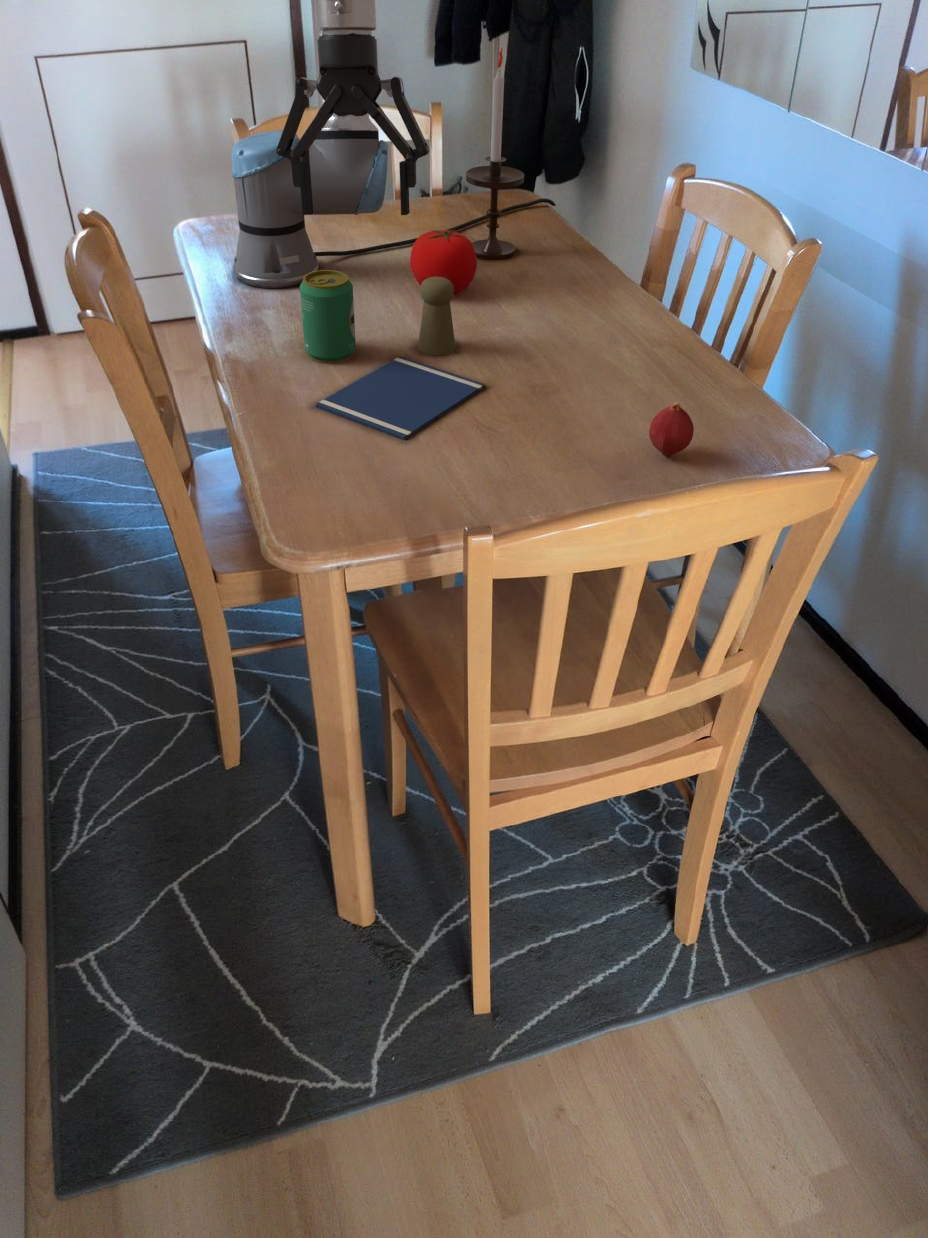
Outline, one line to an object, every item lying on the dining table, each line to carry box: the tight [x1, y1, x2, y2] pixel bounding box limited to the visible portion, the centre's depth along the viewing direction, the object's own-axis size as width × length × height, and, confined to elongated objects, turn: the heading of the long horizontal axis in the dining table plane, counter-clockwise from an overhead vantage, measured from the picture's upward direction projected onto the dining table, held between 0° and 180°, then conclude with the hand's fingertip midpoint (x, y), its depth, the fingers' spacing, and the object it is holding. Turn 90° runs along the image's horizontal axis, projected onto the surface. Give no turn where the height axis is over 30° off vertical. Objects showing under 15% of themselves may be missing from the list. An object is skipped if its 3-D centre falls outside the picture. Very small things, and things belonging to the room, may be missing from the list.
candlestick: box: [465, 47, 525, 261], centre depth 183 cm, size 11×11×35 cm
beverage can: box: [299, 269, 357, 364], centre depth 153 cm, size 8×8×12 cm
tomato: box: [409, 229, 478, 296], centre depth 175 cm, size 12×12×10 cm
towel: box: [315, 355, 486, 441], centre depth 146 cm, size 20×16×1 cm
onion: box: [648, 401, 695, 458], centre depth 132 cm, size 6×6×8 cm
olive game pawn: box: [417, 277, 456, 356], centre depth 156 cm, size 6×6×11 cm
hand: (356, 213), depth 136 cm, fingers open, 13 cm apart
